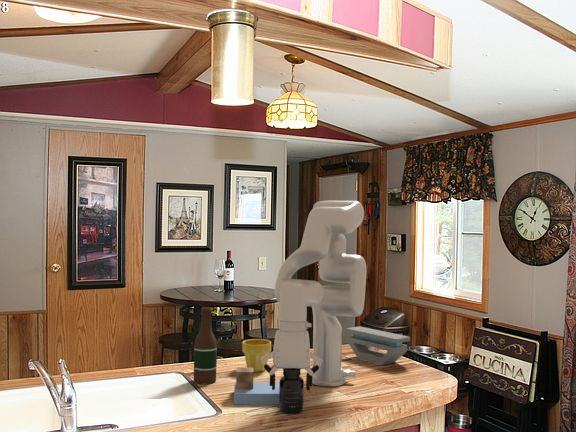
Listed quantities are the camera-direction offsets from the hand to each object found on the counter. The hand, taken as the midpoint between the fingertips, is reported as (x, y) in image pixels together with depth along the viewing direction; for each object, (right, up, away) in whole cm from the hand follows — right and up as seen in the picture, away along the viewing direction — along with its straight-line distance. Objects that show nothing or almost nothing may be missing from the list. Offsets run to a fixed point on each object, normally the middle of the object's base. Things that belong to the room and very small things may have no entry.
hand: (290, 388), depth 154 cm
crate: (-14, -3, +12) cm, 19 cm away
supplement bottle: (0, -7, +1) cm, 6 cm away
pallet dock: (-9, -6, +11) cm, 16 cm away
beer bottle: (-28, -6, +27) cm, 39 cm away
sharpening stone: (+33, -8, +60) cm, 69 cm away
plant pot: (-12, -7, +43) cm, 45 cm away
